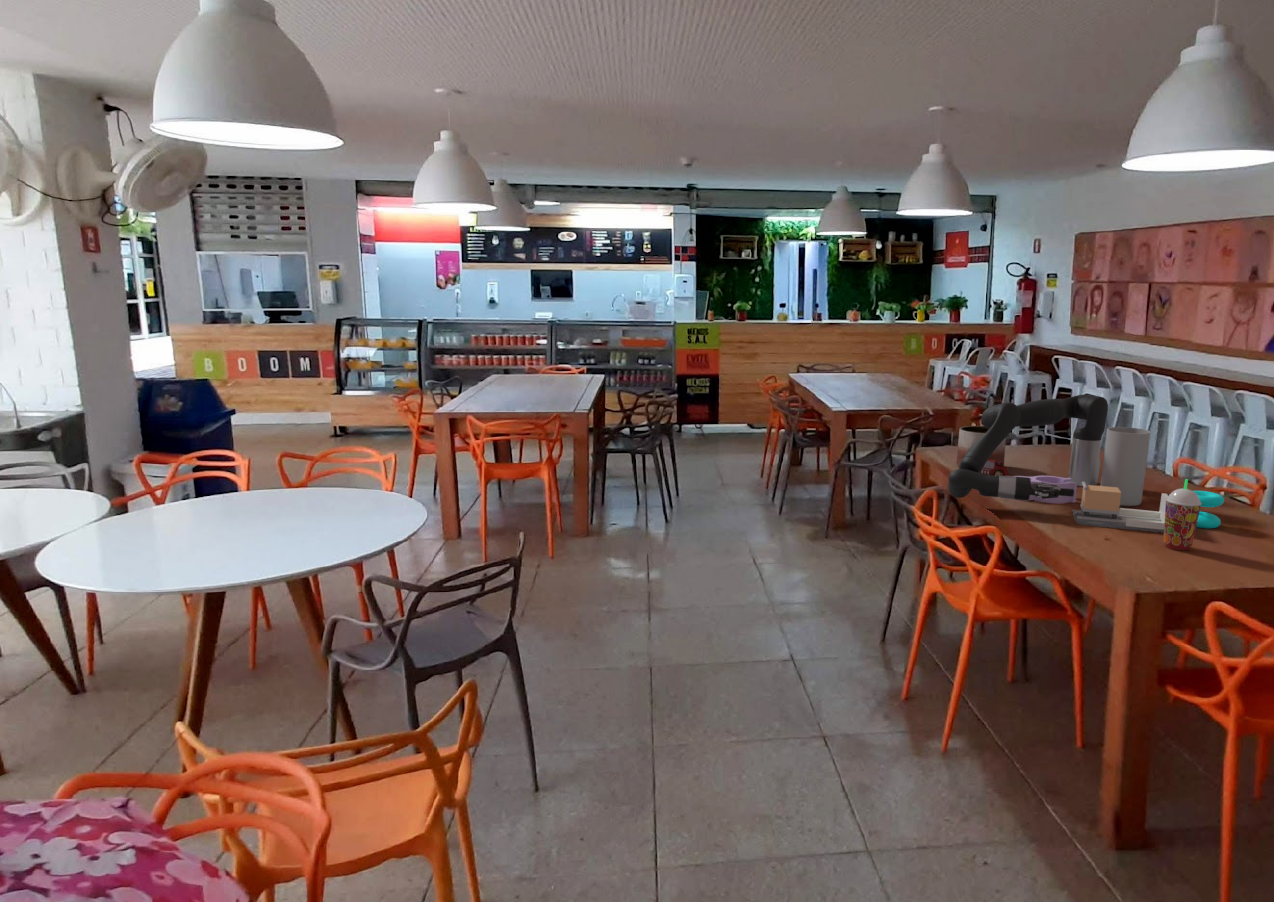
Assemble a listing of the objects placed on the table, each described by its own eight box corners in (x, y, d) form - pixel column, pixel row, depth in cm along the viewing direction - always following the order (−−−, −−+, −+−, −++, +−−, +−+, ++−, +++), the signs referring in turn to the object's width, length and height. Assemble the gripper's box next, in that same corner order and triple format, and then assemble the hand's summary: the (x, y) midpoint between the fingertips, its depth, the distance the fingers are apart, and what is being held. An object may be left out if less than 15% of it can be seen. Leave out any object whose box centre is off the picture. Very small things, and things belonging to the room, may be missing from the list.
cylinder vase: (1102, 505, 271) (1111, 432, 266) (1095, 496, 283) (1103, 426, 278) (1145, 508, 267) (1154, 434, 262) (1136, 499, 279) (1145, 428, 273)
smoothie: (1152, 543, 232) (1161, 476, 228) (1179, 542, 232) (1189, 475, 228) (1174, 552, 224) (1183, 483, 219) (1202, 551, 224) (1212, 482, 220)
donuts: (1184, 488, 254) (1223, 492, 249) (1180, 518, 256) (1218, 523, 251) (1185, 495, 245) (1226, 499, 240) (1181, 526, 248) (1221, 531, 242)
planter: (1006, 465, 330) (1010, 428, 326) (999, 474, 315) (1003, 435, 312) (961, 460, 339) (963, 424, 336) (952, 469, 324) (955, 430, 321)
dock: (1072, 512, 263) (1075, 486, 261) (1162, 521, 253) (1166, 493, 251) (1076, 524, 250) (1079, 496, 248) (1171, 533, 240) (1175, 504, 238)
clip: (1014, 502, 276) (1016, 482, 275) (1006, 492, 288) (1007, 474, 287) (1078, 505, 272) (1080, 485, 271) (1066, 495, 284) (1068, 476, 283)
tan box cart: (1078, 510, 259) (1081, 481, 257) (1115, 513, 255) (1118, 484, 253) (1081, 516, 252) (1084, 486, 250) (1118, 519, 248) (1122, 489, 246)
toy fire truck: (1005, 492, 288) (1007, 464, 286) (970, 486, 297) (973, 459, 295) (1012, 489, 293) (1015, 461, 291) (978, 483, 302) (980, 456, 299)
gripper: (1015, 481, 255) (1077, 486, 248) (1014, 472, 267) (1072, 476, 260) (1013, 504, 257) (1074, 509, 250) (1012, 494, 268) (1070, 499, 262)
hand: (1073, 492), depth 255 cm, fingers closed
